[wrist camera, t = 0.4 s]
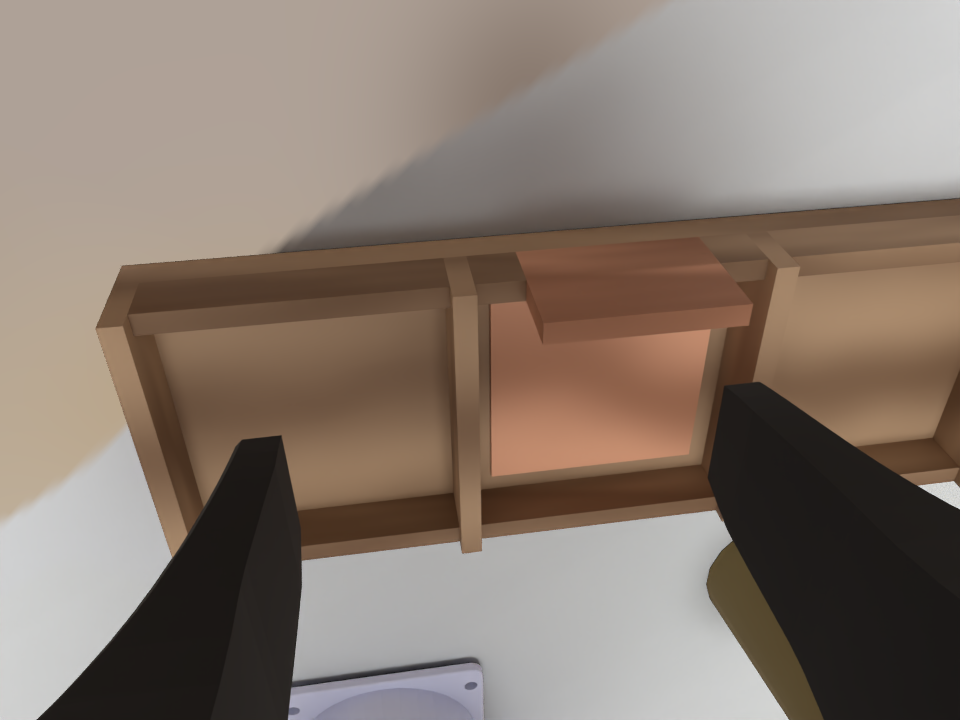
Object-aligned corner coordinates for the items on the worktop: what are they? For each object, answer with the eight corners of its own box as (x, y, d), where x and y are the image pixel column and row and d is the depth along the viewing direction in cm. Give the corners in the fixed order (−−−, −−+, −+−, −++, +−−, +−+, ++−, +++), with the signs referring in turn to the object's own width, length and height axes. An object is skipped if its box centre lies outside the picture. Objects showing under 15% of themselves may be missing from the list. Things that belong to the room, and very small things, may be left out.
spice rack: (926, 430, 29) (1011, 523, 26) (195, 513, 26) (174, 631, 23) (1018, 193, 24) (1140, 268, 21) (121, 265, 21) (79, 366, 18)
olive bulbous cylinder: (804, 488, 30) (1004, 786, 21) (881, 555, 33) (1083, 840, 24) (676, 580, 32) (809, 887, 23) (759, 635, 35) (905, 926, 26)
